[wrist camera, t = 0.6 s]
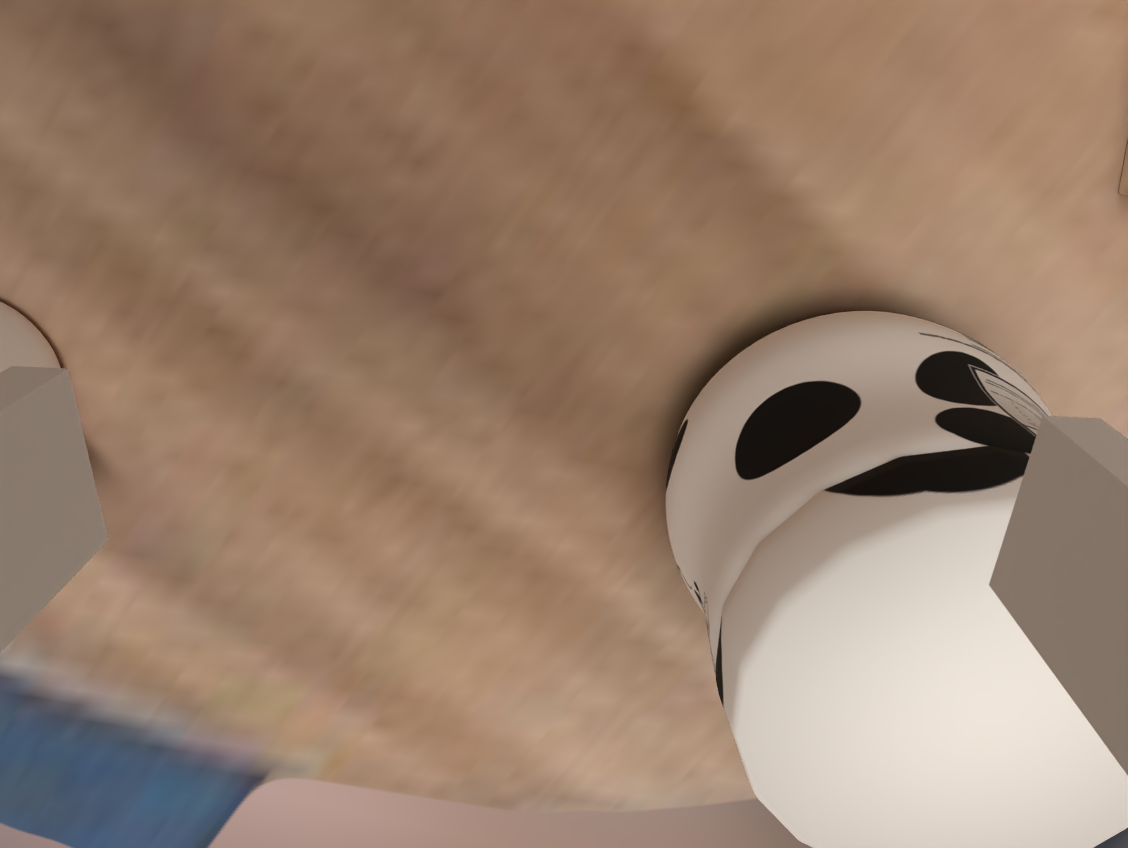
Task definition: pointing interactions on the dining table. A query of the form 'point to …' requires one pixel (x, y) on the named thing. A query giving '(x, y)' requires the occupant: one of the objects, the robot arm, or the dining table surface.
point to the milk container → (879, 592)
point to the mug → (22, 342)
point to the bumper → (1124, 176)
